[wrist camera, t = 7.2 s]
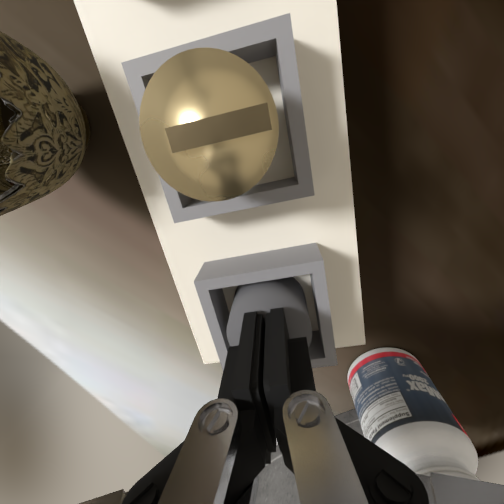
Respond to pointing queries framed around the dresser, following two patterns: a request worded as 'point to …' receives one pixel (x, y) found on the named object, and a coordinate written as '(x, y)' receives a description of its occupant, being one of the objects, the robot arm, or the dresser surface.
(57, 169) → the olive hollow bell-shaped piece
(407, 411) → the pill bottle
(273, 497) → the flask
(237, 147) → the brass knob
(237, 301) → the button
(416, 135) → the dresser surface
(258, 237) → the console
